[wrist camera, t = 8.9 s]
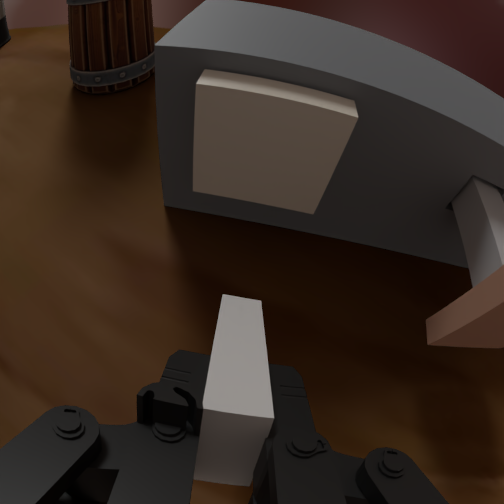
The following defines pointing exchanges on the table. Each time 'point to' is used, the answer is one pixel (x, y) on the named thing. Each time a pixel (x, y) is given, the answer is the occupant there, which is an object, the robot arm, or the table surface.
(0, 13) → the milk frother
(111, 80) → the mug
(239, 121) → the knob left
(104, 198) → the table surface
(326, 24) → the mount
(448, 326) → the knob right
